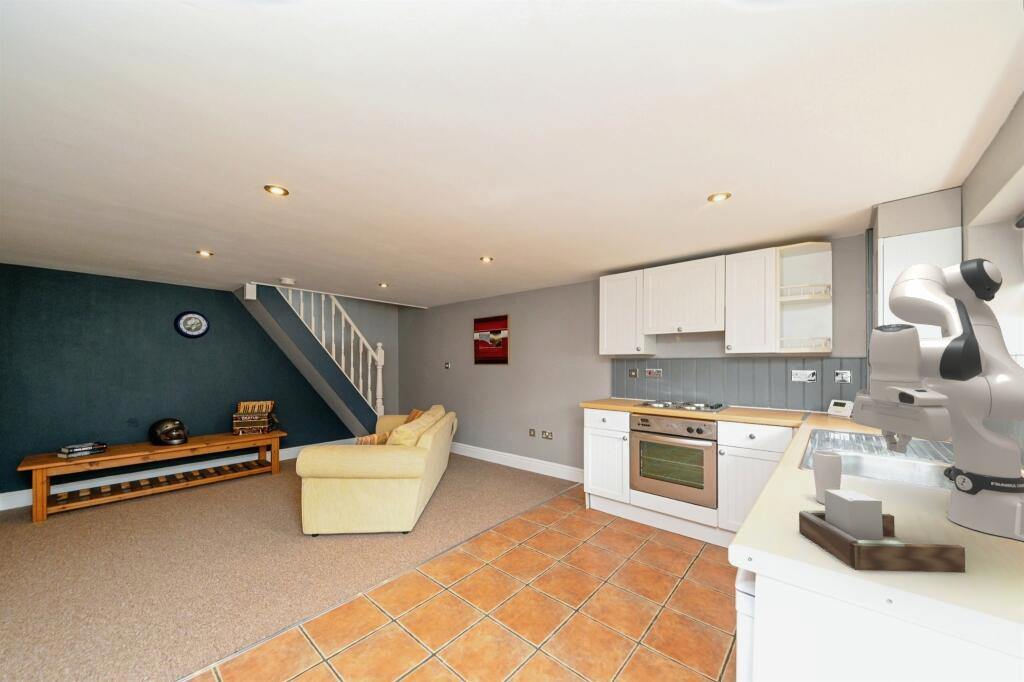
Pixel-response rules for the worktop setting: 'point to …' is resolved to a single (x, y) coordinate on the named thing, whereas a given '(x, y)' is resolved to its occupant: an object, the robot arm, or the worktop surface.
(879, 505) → the supplement box
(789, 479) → the worktop surface
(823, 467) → the drinking glass
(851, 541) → the wooden serving tray
